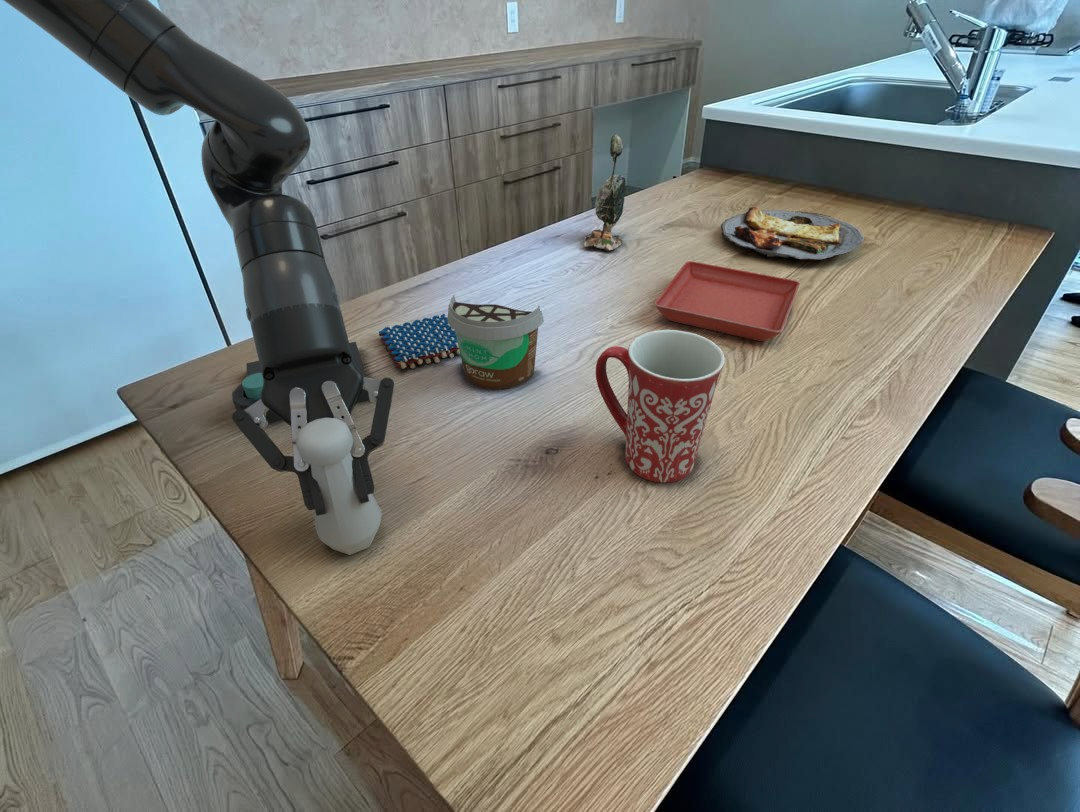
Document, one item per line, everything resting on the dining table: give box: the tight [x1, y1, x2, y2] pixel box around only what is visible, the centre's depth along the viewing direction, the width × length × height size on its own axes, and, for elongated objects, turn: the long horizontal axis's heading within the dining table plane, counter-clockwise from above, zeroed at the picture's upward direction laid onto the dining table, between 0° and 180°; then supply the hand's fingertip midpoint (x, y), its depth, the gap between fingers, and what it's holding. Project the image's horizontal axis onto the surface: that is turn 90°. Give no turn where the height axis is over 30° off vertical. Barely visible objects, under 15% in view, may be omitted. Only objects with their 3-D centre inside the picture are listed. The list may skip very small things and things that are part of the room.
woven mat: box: [378, 313, 460, 370], centre depth 82 cm, size 10×11×2 cm
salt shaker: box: [296, 418, 383, 556], centre depth 51 cm, size 6×6×13 cm
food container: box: [447, 294, 545, 391], centre depth 73 cm, size 12×6×10 cm, turn 73°
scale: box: [231, 341, 370, 424], centre depth 73 cm, size 15×13×4 cm
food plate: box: [720, 206, 865, 260], centre depth 111 cm, size 25×23×4 cm
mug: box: [595, 329, 726, 483], centre depth 60 cm, size 13×9×14 cm
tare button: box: [241, 373, 263, 400], centre depth 68 cm, size 3×3×2 cm
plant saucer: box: [654, 260, 801, 342], centre depth 89 cm, size 18×18×3 cm
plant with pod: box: [583, 133, 628, 252], centre depth 107 cm, size 8×11×20 cm
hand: (343, 507), depth 50 cm, fingers closed on salt shaker, 3 cm apart
